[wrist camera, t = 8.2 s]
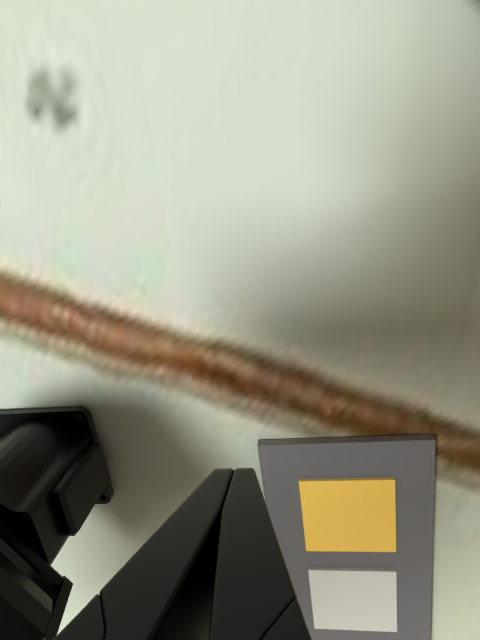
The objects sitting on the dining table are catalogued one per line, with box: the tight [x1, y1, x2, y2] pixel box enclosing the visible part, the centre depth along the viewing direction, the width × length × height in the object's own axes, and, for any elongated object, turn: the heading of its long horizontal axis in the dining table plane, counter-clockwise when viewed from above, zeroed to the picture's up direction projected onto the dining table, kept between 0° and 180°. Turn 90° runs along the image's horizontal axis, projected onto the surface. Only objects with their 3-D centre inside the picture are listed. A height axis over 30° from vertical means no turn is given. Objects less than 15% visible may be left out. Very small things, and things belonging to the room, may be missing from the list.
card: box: [258, 434, 436, 640], centre depth 24 cm, size 9×16×1 cm, turn 8°
